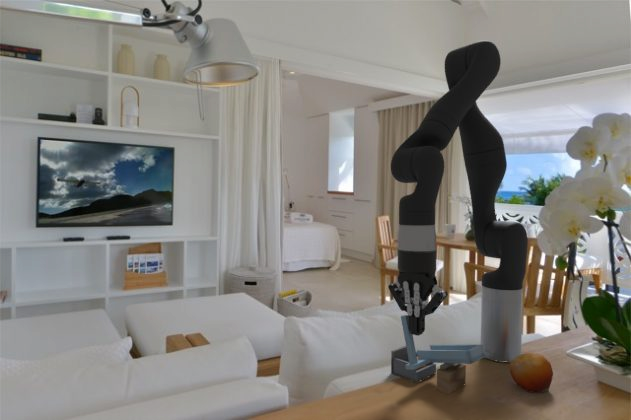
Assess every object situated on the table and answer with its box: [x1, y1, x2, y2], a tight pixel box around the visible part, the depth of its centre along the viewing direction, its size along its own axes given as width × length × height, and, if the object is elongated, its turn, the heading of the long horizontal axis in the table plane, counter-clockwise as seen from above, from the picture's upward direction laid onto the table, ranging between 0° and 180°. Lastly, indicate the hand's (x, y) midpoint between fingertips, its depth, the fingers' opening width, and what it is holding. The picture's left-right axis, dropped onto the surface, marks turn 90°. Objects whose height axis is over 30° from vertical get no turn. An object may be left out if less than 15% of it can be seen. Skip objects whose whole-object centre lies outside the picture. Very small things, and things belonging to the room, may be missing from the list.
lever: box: [400, 314, 485, 370], centre depth 88 cm, size 11×12×10 cm
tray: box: [390, 345, 437, 383], centre depth 96 cm, size 7×7×5 cm
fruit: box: [508, 352, 554, 393], centre depth 89 cm, size 8×8×8 cm
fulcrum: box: [436, 363, 467, 395], centre depth 89 cm, size 7×3×6 cm, turn 133°
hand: (416, 334), depth 87 cm, fingers closed
